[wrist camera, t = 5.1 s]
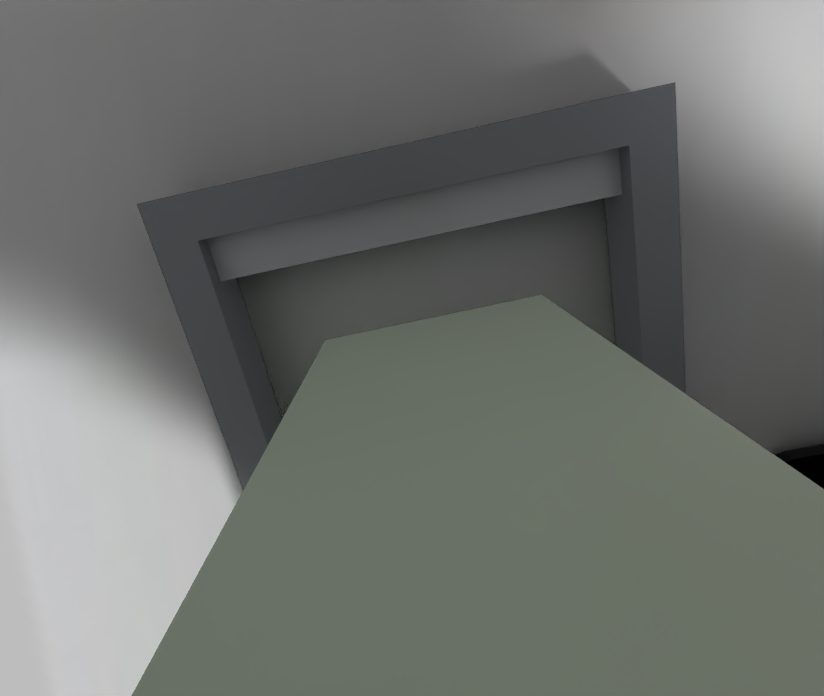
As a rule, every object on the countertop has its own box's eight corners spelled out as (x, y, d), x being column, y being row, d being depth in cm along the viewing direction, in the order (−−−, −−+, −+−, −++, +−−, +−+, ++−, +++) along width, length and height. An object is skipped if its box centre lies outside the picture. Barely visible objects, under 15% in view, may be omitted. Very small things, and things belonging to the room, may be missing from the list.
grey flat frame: (650, 95, 11) (702, 73, 9) (686, 857, 20) (717, 927, 18) (159, 205, 11) (112, 207, 10) (409, 899, 20) (410, 972, 18)
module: (541, 294, 9) (1440, 912, 1) (580, 599, 12) (978, 1494, 4) (325, 340, 10) (-105, 1134, 1) (406, 631, 12) (416, 1545, 4)
